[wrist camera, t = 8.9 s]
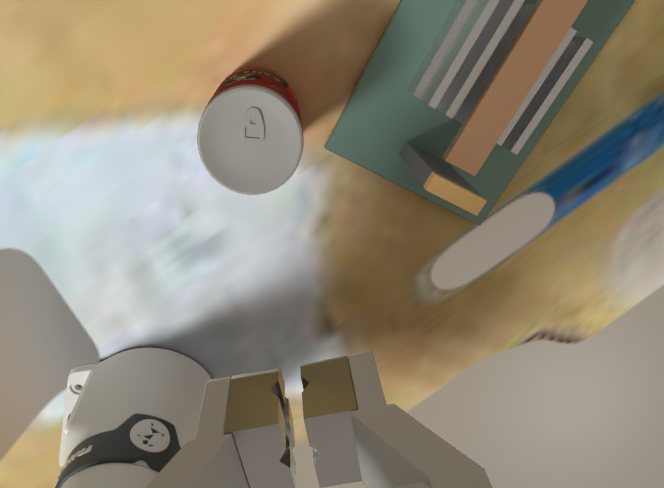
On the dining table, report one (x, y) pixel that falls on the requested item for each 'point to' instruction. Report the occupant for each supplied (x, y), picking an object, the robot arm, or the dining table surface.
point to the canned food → (251, 132)
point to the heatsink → (489, 64)
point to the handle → (512, 82)
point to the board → (439, 112)
